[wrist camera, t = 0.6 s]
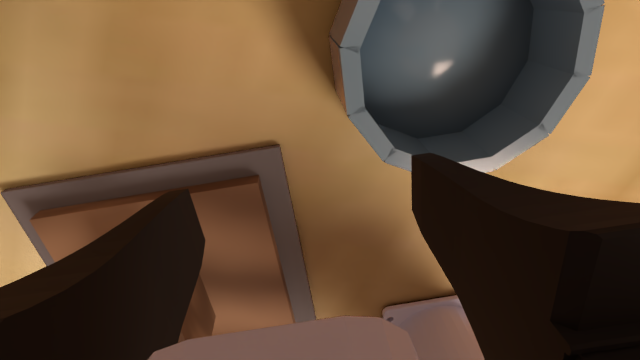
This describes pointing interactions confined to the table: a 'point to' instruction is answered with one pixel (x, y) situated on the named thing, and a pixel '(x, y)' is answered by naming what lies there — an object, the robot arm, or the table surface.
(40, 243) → the mat
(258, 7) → the table surface
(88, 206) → the lid
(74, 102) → the table surface
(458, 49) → the bowl
